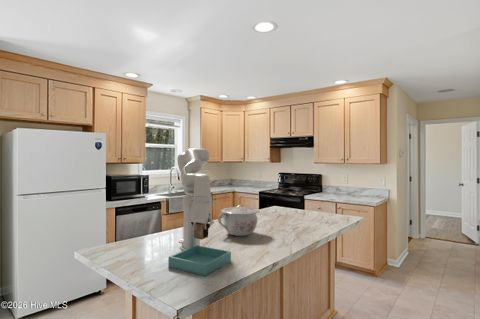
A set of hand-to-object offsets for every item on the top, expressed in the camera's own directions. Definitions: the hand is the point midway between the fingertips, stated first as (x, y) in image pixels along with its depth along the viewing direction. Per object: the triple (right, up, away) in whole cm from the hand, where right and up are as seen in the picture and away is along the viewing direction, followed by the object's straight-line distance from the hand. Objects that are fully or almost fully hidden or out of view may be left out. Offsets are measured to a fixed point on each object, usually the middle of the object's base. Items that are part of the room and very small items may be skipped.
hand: (201, 235), depth 143 cm
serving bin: (0, -14, 0) cm, 14 cm away
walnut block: (0, -1, 0) cm, 1 cm away
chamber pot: (+19, -15, +60) cm, 65 cm away
